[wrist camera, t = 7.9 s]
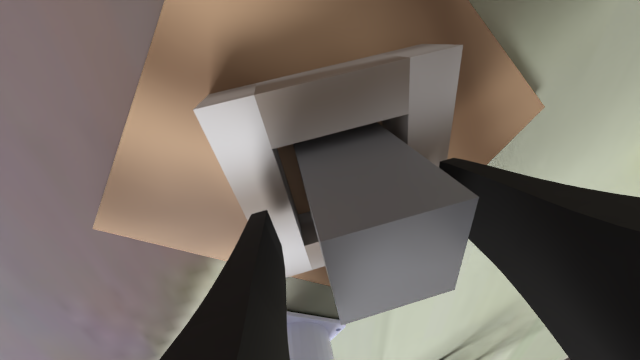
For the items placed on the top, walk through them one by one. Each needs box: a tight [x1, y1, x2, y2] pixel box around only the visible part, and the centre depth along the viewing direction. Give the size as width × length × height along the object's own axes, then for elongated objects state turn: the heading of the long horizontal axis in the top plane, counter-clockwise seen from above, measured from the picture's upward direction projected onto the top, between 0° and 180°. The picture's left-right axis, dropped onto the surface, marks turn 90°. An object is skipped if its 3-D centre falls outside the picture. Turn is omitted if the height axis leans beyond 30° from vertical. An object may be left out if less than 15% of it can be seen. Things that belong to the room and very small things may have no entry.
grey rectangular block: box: [293, 122, 479, 325], centre depth 9 cm, size 4×4×7 cm
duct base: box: [93, 0, 545, 286], centre depth 12 cm, size 18×18×4 cm
